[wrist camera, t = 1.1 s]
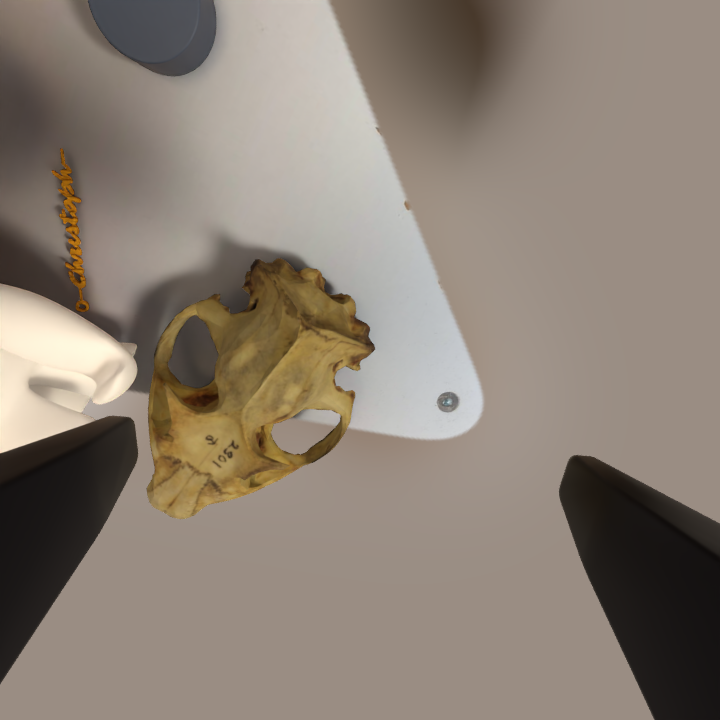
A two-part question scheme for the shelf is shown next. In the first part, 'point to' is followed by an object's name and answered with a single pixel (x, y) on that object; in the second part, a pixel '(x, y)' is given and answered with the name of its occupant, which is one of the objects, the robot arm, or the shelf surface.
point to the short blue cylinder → (159, 31)
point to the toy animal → (53, 367)
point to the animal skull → (251, 388)
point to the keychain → (73, 227)
